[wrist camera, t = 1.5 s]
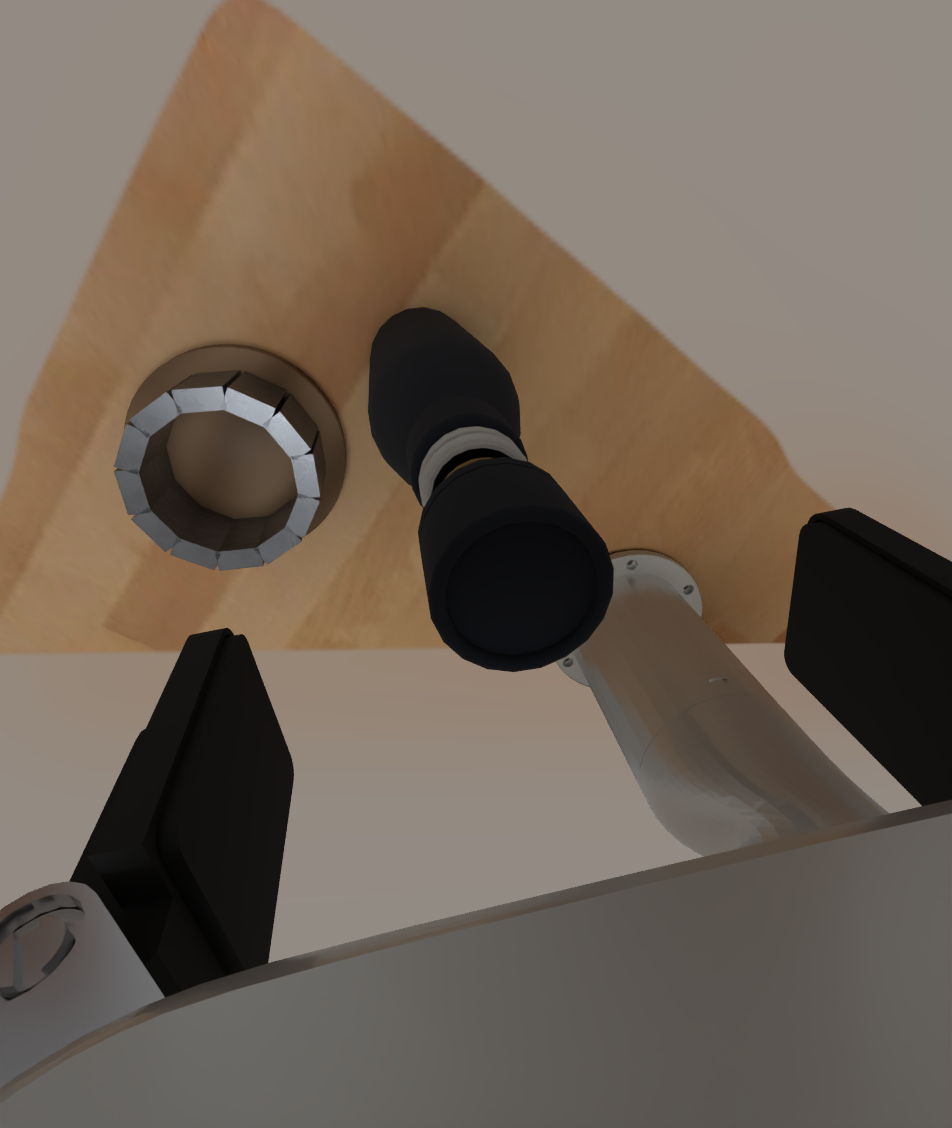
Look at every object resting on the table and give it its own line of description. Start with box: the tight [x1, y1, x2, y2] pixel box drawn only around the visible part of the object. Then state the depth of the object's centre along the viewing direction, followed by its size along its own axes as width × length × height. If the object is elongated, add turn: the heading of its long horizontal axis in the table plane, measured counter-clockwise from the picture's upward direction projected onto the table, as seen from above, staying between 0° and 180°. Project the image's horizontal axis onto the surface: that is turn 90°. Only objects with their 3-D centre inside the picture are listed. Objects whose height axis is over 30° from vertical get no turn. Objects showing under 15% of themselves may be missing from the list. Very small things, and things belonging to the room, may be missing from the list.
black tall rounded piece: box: [368, 308, 614, 672], centre depth 26 cm, size 6×6×30 cm
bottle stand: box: [114, 345, 346, 571], centre depth 37 cm, size 13×13×6 cm
